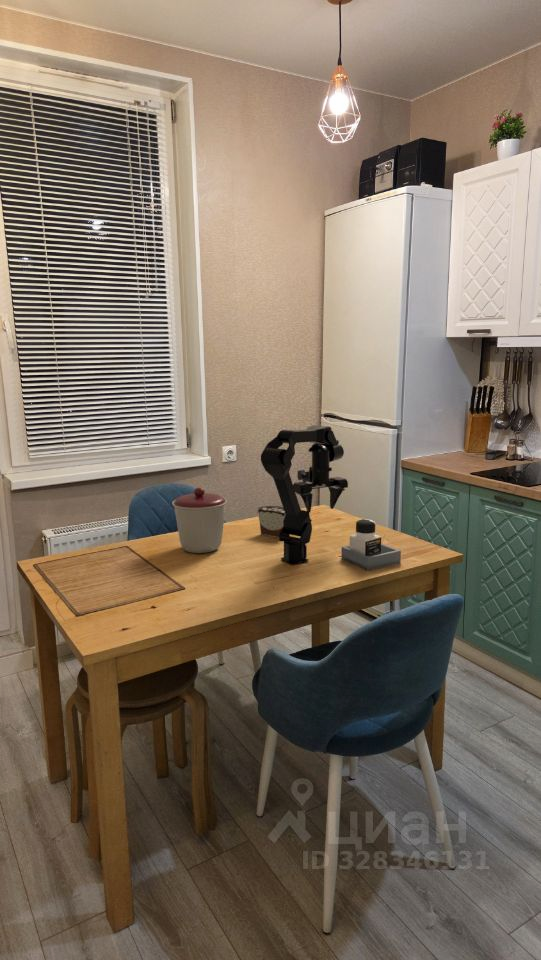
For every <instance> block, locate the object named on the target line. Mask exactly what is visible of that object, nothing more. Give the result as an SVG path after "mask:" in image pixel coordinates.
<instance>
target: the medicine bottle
mask: <svg viewBox="0 0 541 960" xmlns="http://www.w3.org/2000/svg"><path fill="white" fill-rule="evenodd" d="M381 543H382V536H381V535H378V534H376V522H375V521H374V520H372V519H366V518H364V519H359V520H357V521H356V522H355V534H351V535H349V545H350V549H352V550H354V551H356V552H359V553H361V554H363V555H366V556H368V557H369V556H374V555H378V554H381Z"/></svg>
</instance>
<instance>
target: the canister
mask: <svg viewBox="0 0 541 960" xmlns="http://www.w3.org/2000/svg"><path fill="white" fill-rule="evenodd" d="M171 503H172V507H174V515H175V519H176V525H177V531H178V532H177V533H178V537H179V541H180V542H179V543H180V546H181V548H182V549H183V550H185V551H186V552H189V553H192V554H207V553H211V552H215V551H216V550H218V549H220V546H221V544H222V540H223V533H224V523H225V510H226V504H227V503H228V500H227V498H225V497H224V496H222V495H219V494H216V493H208V492H206V491H205V489H204V488H203V487H196V488H195V489H193V493H187V494H184V495H181V496H180V495H179V496H178V497H177V498H176V499H174V500H173V501H172V502H171Z"/></svg>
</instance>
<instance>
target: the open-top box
mask: <svg viewBox="0 0 541 960" xmlns="http://www.w3.org/2000/svg"><path fill="white" fill-rule="evenodd" d="M401 554H402V551H401V550H400V549H398V548H395V547H392V546H390V545H388V544H384V543H382V542H381V554H378V555H374V556H369V557H368V556H366V555H363V554H361V553H359V552H356V551H354V550H352V549H350V544H349V545H344V546H341V560H343V561H344V562H348V563H350V564H352V565H355V566H356V567H359V568H360V569H362V570H364V571H372V570H376V569H377V570H378V569H381V568H385V567H391V566H395V565H398V564H401V560H402V559H401V557H402V556H401Z"/></svg>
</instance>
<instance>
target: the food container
mask: <svg viewBox="0 0 541 960" xmlns="http://www.w3.org/2000/svg"><path fill="white" fill-rule="evenodd" d="M256 513H257V514H258V521H259V530H260V531H259V532H260V535H261V534H263V535H262V536H266V535H269V536H268V537H272V536H275V537H274V538H278V536H279V534H280V531H281V529H282V527H283V525H284V524H283V520H284V517H285V511H284V508H283V505H261V506H258V507H257V510H256Z"/></svg>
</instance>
